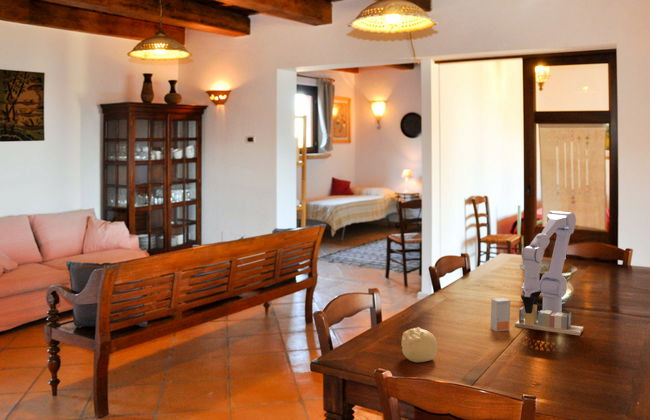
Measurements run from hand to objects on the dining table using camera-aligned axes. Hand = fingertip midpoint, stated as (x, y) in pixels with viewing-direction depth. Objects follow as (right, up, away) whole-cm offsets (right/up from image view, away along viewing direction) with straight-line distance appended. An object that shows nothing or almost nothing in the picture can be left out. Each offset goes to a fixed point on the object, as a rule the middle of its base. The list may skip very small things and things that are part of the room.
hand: (530, 310), depth 249 cm
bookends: (+5, -5, -2) cm, 7 cm away
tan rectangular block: (0, -5, 0) cm, 5 cm away
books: (+7, -5, -4) cm, 10 cm away
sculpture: (-50, -11, -36) cm, 62 cm away
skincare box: (-13, -7, -4) cm, 16 cm away
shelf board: (+6, -6, -3) cm, 9 cm away
